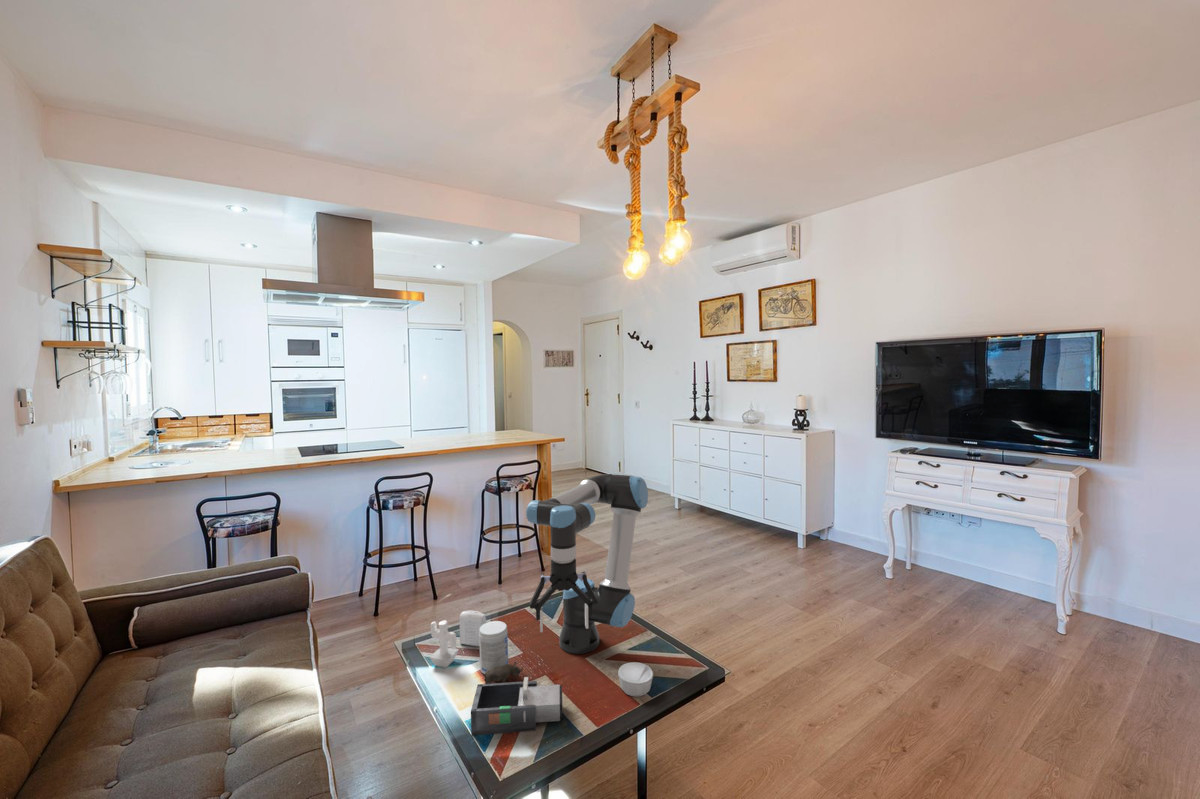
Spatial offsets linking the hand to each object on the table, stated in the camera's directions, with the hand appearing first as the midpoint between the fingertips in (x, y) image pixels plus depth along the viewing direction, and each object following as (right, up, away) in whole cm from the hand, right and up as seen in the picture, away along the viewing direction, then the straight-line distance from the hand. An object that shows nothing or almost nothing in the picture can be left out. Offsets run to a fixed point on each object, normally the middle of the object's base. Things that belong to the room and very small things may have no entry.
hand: (564, 628), depth 148 cm
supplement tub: (-26, -25, +22) cm, 42 cm away
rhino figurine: (-21, -25, +14) cm, 36 cm away
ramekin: (+22, -25, +11) cm, 35 cm away
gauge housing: (-17, -26, -2) cm, 31 cm away
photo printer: (-37, -24, +38) cm, 58 cm away
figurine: (-44, -24, +25) cm, 56 cm away
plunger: (-7, -24, -1) cm, 25 cm away
